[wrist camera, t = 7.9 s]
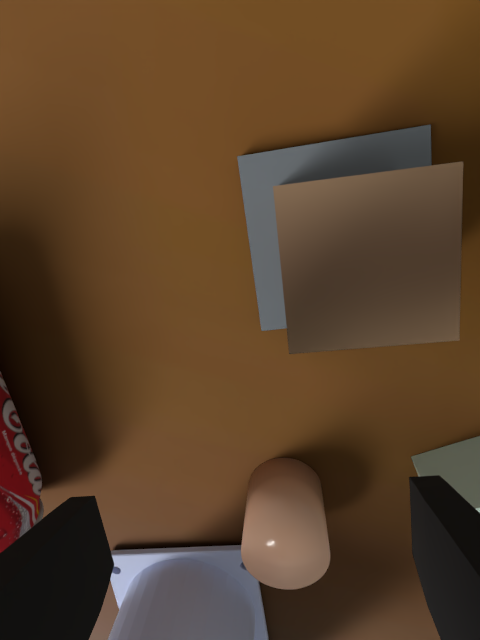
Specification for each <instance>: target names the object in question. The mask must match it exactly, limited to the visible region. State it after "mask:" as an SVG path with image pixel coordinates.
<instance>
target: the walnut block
mask: <svg viewBox="0 0 480 640" xmlns="http://www.w3.org/2000/svg"><path fill="white" fill-rule="evenodd" d="M273 192H274V202H275V213H276V223H277V233H278V243H279V254H280V264H281V274H282V284H283V295H284V305H285V315H286V325H287V336H288V346H289V354H295V353H308V352H320V351H333V350H345V349H358V348H371V347H383V346H396V345H408V344H421V343H433V342H446V341H458V340H459V333H460V288H461V243H462V198H463V161H462V162H454V163H447V164H439V165H431V166H424V167H416V168H408V169H401V170H393V171H385V172H377V173H370V174H362V175H354V176H347V177H339V178H331V179H324V180H316V181H308V182H301V183H293V184H285V185H278V186H273Z"/></svg>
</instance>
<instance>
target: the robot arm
mask: <svg viewBox="0 0 480 640" xmlns="http://www.w3.org/2000/svg"><path fill="white" fill-rule="evenodd" d="M409 480H410V504H411V528H412V552H413V557H414V560H415V564H416V567H417V571H418V575H419V578H420V582H421V585H422V588H423V592H424V595H425V599H426V602H427V605H428V608H429V610H430V613H431V615H432V618H433V621H434V623H435V626H436V628H437V631H438V633H439V636H440V638H441V640H480V513H479V512H478V511H477V510H476V509H475V508H474V507H473V506H472V505H471V504H470V503H469V502H468V501H466V500H465V499H464V498H463V497H462V496H461V495H460V494H459V493H458V492H457V491H456V490H455V489H454V488H453V487H452V486H451V485H450V484H449V483H447V482H446V481H445V480H444V479H443V478H442V477H441V476H439V475H435V476H419V477H409ZM117 567H118V568H117ZM110 580H111V583H112V587H113V590H114V594H115V597H116V600H117V604H118V607H119V612H118V615H117V617H116V620H115V622H114V625H113V628H112V630H111V633H110V635H109V638H108V640H269V638H268V632H267V626H266V620H265V614H264V608H263V602H262V596H261V591H260V585H259V581H258V580H257V579H256V578H254V577H253V576H252V575H251V574H250V573H249V572H248V570H247V569H246V567H245V566H244V563H243V561H242V557H241V545H228V546H204V547H180V548H156V549H131V550H113V551H110V547H109V544H108V540H107V537H106V534H105V530H104V527H103V523H102V520H101V516H100V513H99V509H98V506H97V502H96V499H95V496H84V497H71V498H69V499H68V500H66V501H65V502H64V503H62V504H61V505H60V506H58V507H57V508H56V509H54V510H53V511H52V512H51V513H49V514H48V515H47V516H46V517H44V518H43V519H42V520H41V521H39V522H38V523H37V524H36V525H34V526H33V527H32V528H31V529H29V530H28V531H27V532H26V533H25V534H23V535H22V536H21V537H20V538H18V539H17V540H16V541H15V542H14V543H12V544H11V545H10V546H9V547H7V548H6V549H5V550H4V551H2V552H1V553H0V640H89V637H90V635H91V633H92V630H93V628H94V626H95V623H96V621H97V618H98V616H99V613H100V611H101V608H102V604H103V601H104V598H105V595H106V592H107V589H108V585H109V581H110Z"/></svg>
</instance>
